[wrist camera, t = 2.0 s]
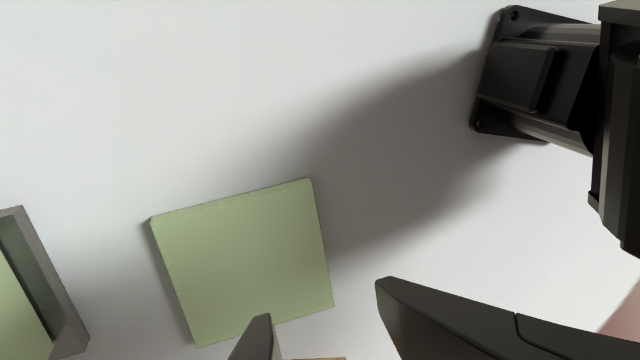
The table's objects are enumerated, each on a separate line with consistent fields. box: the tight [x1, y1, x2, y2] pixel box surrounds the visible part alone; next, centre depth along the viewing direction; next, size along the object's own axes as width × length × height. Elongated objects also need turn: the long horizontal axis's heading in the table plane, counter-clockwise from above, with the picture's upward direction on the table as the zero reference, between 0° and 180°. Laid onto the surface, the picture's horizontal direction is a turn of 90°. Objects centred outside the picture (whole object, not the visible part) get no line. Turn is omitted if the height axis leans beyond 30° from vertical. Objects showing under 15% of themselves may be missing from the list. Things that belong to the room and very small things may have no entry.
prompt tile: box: [150, 178, 335, 349], centre depth 22 cm, size 8×8×1 cm
